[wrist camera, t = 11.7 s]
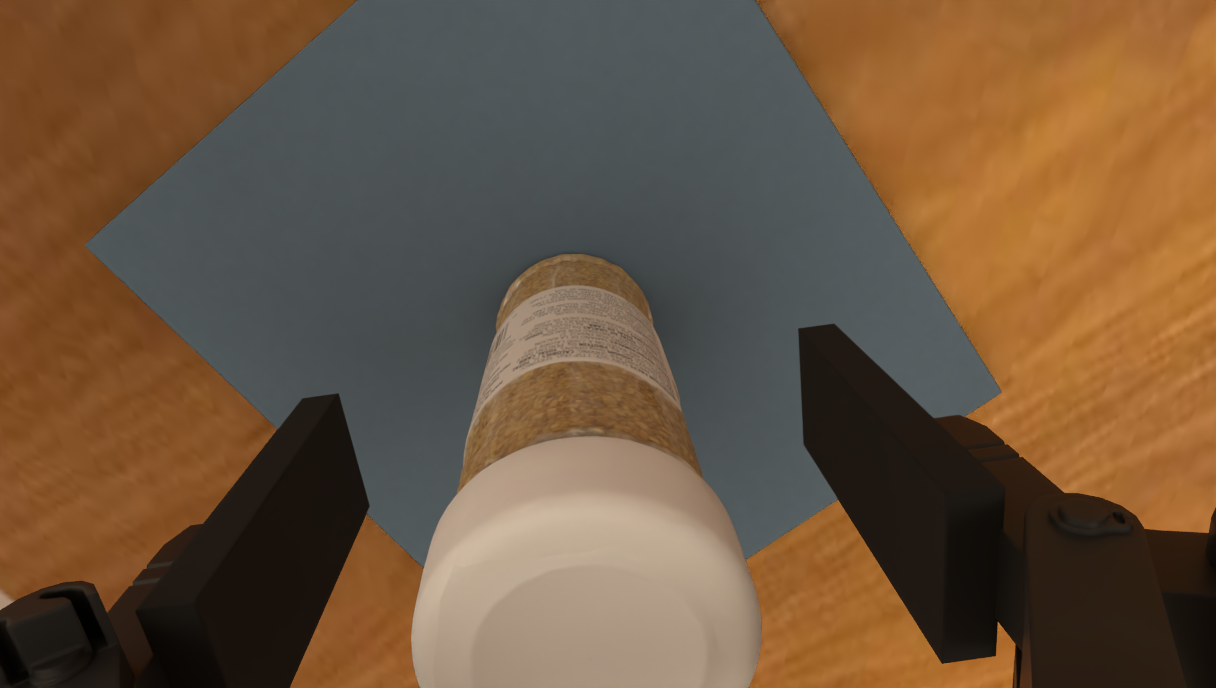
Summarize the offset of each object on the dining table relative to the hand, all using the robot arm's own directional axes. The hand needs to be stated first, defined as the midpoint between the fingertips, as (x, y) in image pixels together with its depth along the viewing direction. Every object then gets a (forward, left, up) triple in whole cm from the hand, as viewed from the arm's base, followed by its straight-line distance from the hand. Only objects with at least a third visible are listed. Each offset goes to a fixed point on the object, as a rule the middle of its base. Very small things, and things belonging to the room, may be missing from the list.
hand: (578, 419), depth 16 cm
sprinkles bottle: (0, 0, -7) cm, 7 cm away
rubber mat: (0, 0, -7) cm, 7 cm away
